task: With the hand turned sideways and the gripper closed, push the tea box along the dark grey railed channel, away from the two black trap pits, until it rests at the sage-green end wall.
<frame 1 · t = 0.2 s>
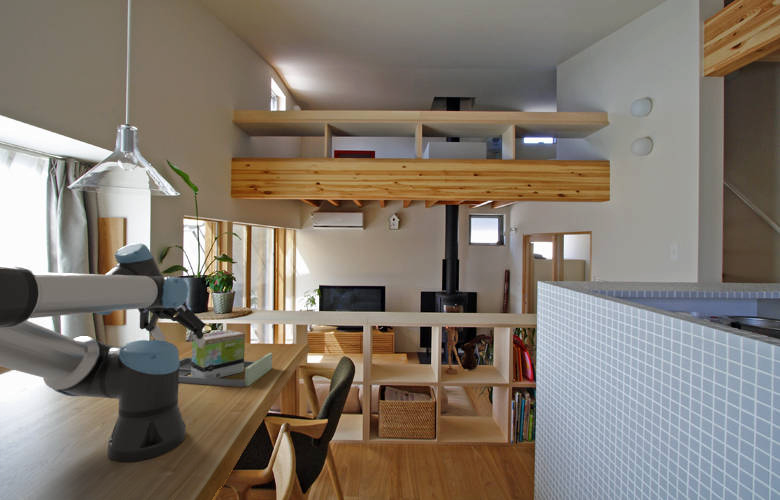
hand: (182, 343, 114), 15 cm above the table, tool tilted 35°, fingers open, 13 cm apart
tea box: (218, 374, 130), on the table
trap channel: (215, 373, 130), on the table
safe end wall: (259, 376, 129), on the table
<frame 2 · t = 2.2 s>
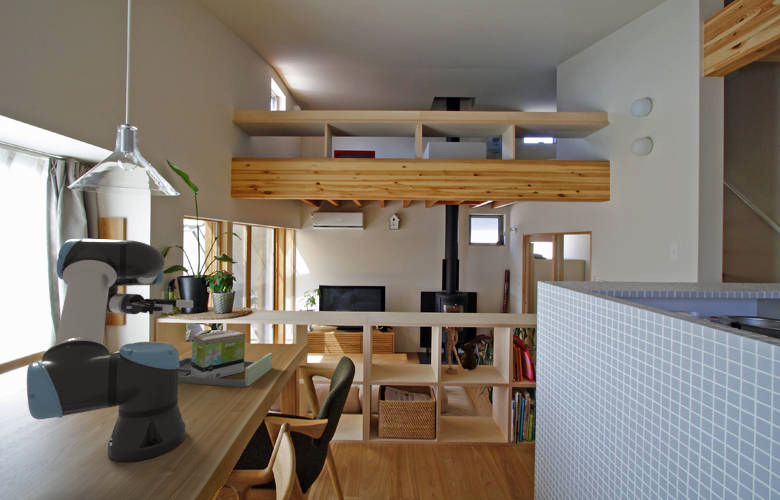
hand: (182, 306, 132), 24 cm above the table, tool horizontal, fingers open, 10 cm apart
nothing on the table moved.
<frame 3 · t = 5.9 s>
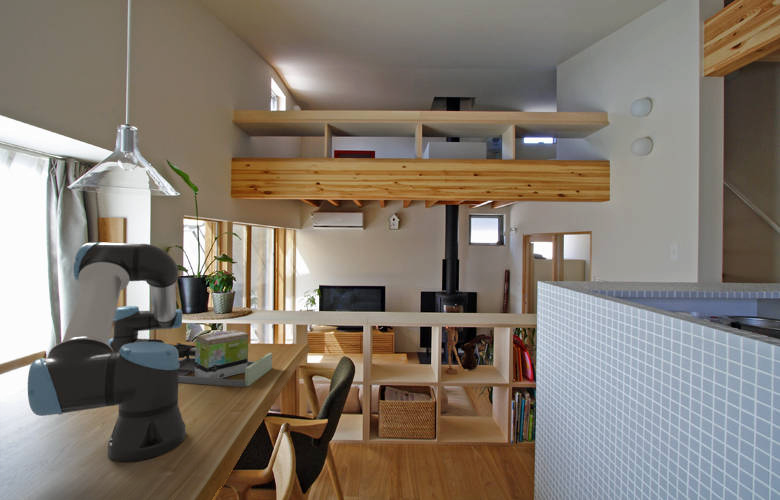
hand: (208, 352, 131), 7 cm above the table, tool horizontal, fingers closed
tea box: (221, 374, 130), on the table, touching gripper
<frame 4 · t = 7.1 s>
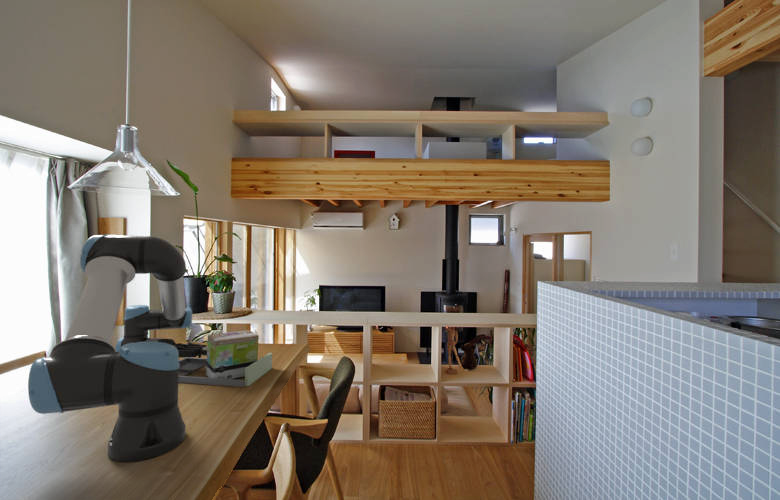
hand: (219, 352, 131), 8 cm above the table, tool horizontal, fingers closed
tea box: (232, 375, 129), on the table, touching gripper, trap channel
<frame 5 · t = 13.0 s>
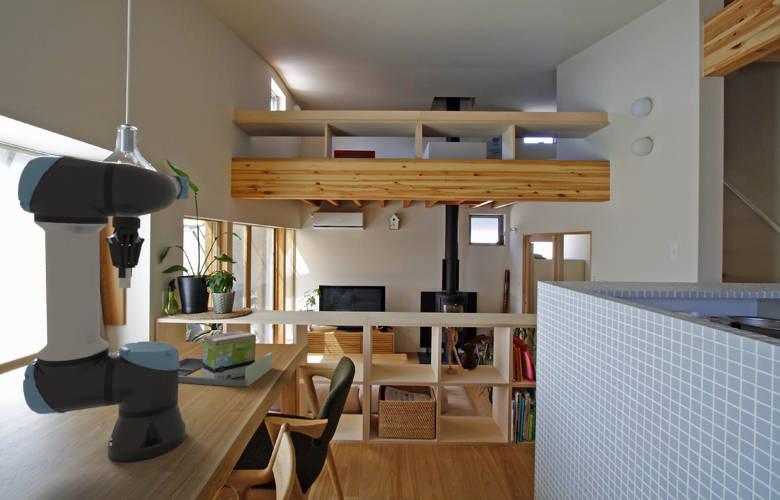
hand: (124, 287, 117), 32 cm above the table, tool pointing down, fingers closed
tea box: (229, 375, 129), on the table
at the end: tea box inside the target area (1.8 cm from its centre), on the table; tea box tilted 0°; tea box moved 4.5 cm from its start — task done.
